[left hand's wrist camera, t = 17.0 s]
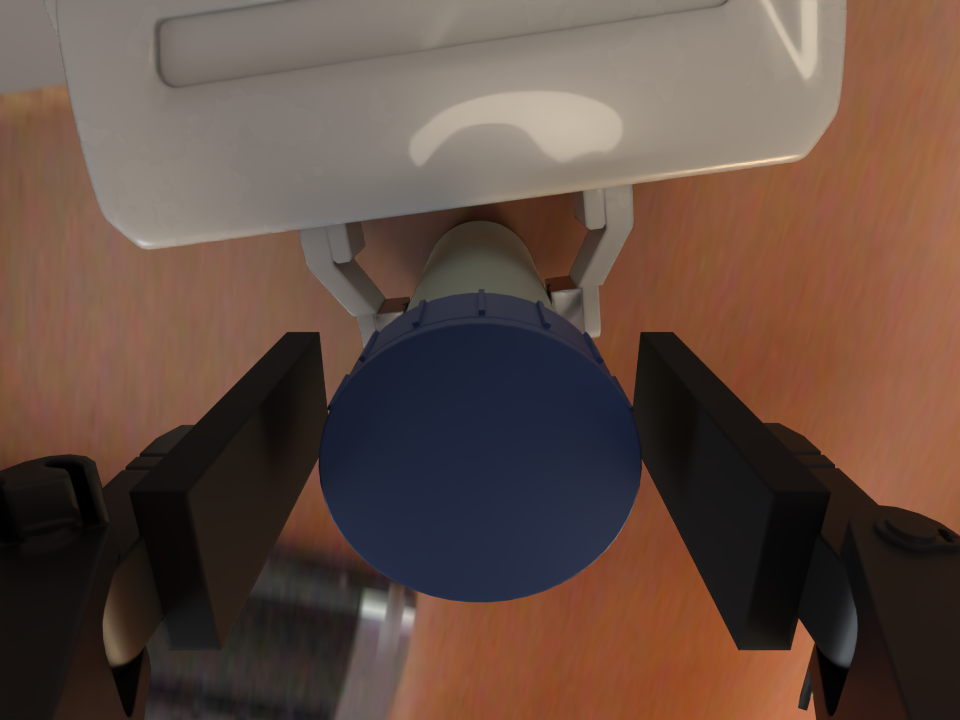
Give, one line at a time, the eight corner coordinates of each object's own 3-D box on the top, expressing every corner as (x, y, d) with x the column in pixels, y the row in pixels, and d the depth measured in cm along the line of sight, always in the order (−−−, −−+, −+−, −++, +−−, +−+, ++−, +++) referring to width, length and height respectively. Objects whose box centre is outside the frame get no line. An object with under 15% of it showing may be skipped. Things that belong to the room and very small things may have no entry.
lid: (577, 556, 13) (593, 625, 11) (327, 513, 13) (301, 578, 11) (655, 321, 11) (690, 359, 9) (361, 262, 11) (336, 288, 9)
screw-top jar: (406, 255, 25) (305, 417, 10) (500, 199, 24) (530, 292, 10) (461, 343, 26) (440, 591, 12) (552, 293, 25) (644, 494, 11)
